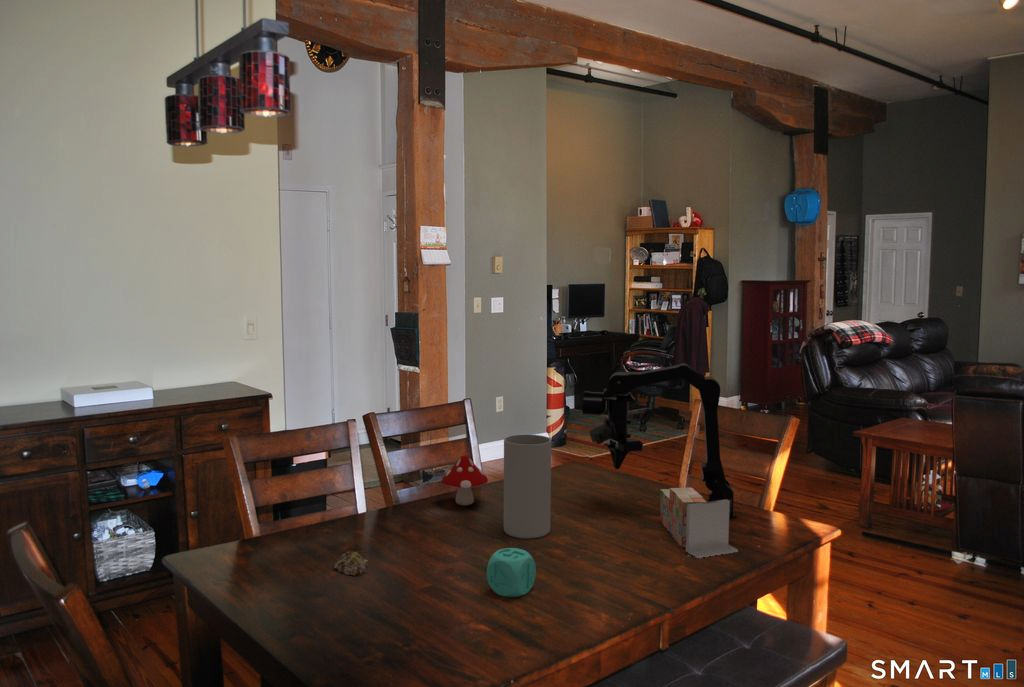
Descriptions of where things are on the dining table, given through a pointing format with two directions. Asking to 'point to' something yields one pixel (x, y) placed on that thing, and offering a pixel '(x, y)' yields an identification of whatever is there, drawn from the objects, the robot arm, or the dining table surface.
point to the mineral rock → (352, 564)
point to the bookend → (708, 529)
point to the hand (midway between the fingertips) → (616, 468)
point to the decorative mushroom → (464, 479)
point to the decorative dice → (511, 572)
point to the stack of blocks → (677, 510)
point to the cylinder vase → (527, 486)
